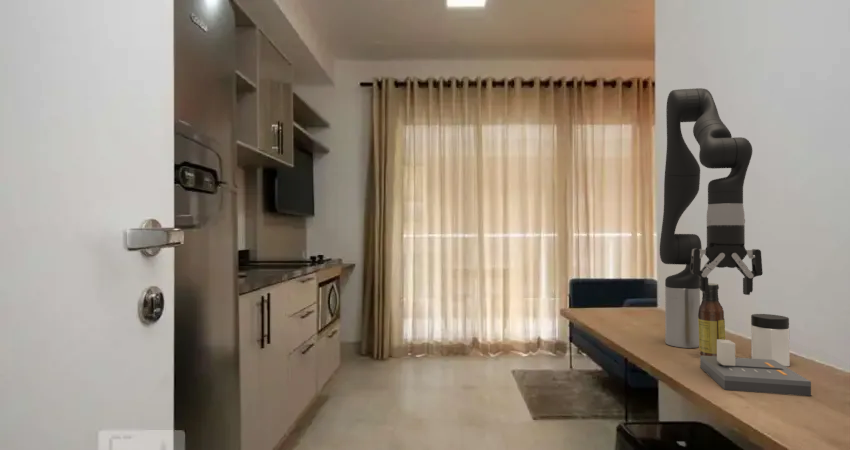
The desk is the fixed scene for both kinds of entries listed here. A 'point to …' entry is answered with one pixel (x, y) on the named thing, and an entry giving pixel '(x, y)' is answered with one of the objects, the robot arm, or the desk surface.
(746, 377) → the fader console
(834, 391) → the desk surface
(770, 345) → the jar
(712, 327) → the sauce bottle
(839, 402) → the desk surface
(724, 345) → the fader tab
